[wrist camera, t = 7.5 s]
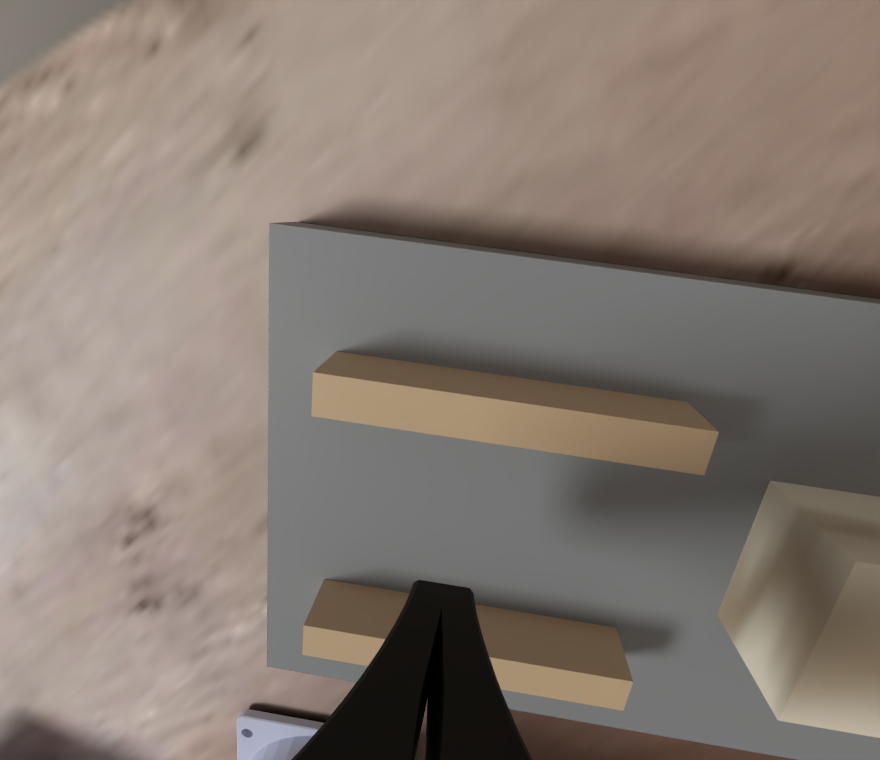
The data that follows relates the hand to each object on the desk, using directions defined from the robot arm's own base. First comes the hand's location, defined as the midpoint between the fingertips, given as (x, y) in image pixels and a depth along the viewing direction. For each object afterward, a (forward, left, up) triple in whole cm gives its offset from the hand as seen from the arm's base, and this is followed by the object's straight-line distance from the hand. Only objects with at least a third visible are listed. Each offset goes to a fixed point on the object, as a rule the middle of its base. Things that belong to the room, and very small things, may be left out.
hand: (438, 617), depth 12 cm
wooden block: (0, -12, -4) cm, 12 cm away
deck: (0, -11, -6) cm, 12 cm away
